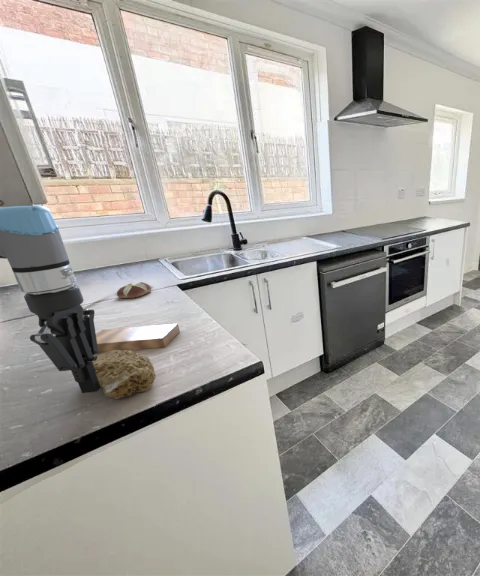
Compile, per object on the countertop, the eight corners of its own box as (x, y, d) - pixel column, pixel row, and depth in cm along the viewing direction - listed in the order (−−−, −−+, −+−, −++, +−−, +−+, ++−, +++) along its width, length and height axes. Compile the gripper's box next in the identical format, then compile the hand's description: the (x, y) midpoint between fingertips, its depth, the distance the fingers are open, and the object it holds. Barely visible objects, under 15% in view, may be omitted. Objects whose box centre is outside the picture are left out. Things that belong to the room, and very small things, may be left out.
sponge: (166, 389, 75) (145, 346, 87) (152, 367, 71) (132, 325, 82) (99, 424, 68) (86, 372, 79) (79, 403, 63) (68, 351, 75)
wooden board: (81, 354, 89) (78, 345, 88) (105, 338, 98) (102, 329, 97) (165, 347, 92) (162, 338, 91) (180, 331, 102) (177, 323, 101)
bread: (156, 290, 141) (153, 279, 139) (137, 299, 130) (133, 288, 129) (133, 290, 141) (129, 279, 140) (111, 299, 131) (107, 288, 129)
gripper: (44, 299, 54) (89, 408, 62) (97, 277, 66) (128, 371, 74) (-6, 302, 53) (46, 413, 61) (57, 279, 65) (93, 374, 73)
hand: (91, 390), depth 67 cm, fingers closed
